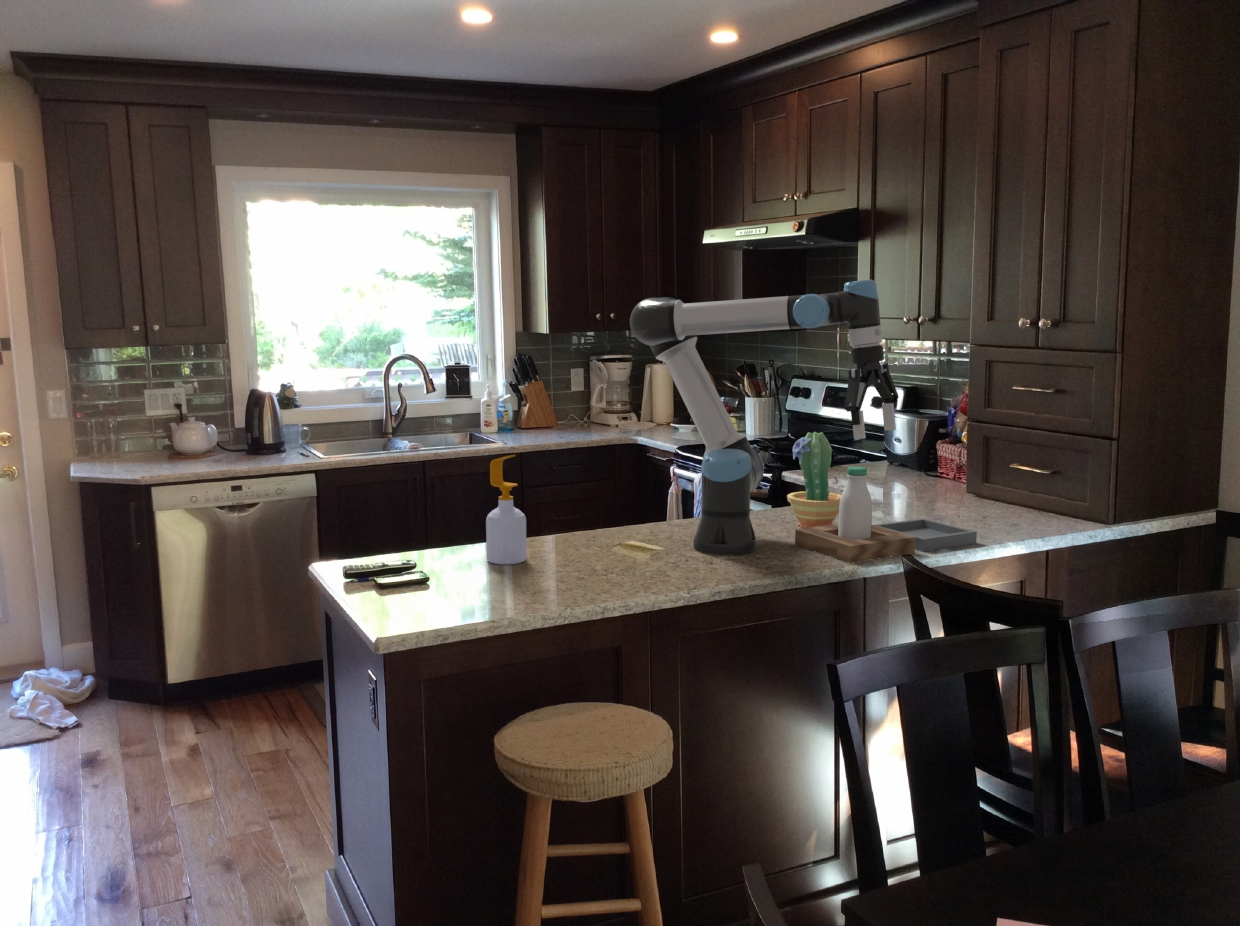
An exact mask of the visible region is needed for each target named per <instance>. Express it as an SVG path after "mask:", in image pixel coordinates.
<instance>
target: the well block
mask: <svg viewBox="0 0 1240 926" xmlns="http://www.w3.org/2000/svg"><path fill="white" fill-rule="evenodd" d="M873 525H874V524H871V538H864V539H857V540H850V539H847V538H843V537H840V536H838V526H839V523H835V524H832V525H826V526H818V527H811V528H797V529H794V530H795V532H794V533H795V535H794V537H795V538H794V546H795V545H798V546H799V548H801V547H803V548H802V549H805V548H807V549H806V550H808V549H809V550H808V551H811V550H812V552H814V551H816V552H815V553H817V552H818V554H820V553H822V554H821V555H823V554H824V555H823V556H826V555H827V557H829V556H831V557H830V558H832V557H833V559H835V558H836V560H838V559H840V560H839V561H841V562H842V561H843V562H844V561H845V562H844V563H848V562H849V563H848V564H853V563H852V562H855V563H859V562H858V561H862V562H866V561H865V560H868V561H870V560H869V559H875V560H879V559H878V558H881V559H886V557H888V558H891V557H890V556H895V557H900V556H907V555H913V554H915V553H916V550H915V538H916V537H914V536H910V535H906V534H903V533H899V532H895V531H892V530H888V529H884V528H881V527H877V526H873ZM798 546H797V547H798ZM899 555H900V556H899Z"/></svg>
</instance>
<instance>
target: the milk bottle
mask: <svg viewBox="0 0 1240 926" xmlns="http://www.w3.org/2000/svg"><path fill="white" fill-rule="evenodd" d="M846 474H847V475H846V477H847V482H846V485H845V487H844V489H843V491H842V493H841V494H840V495H841V499H840V506H839V513H838V524H839V526H838V536H840V537H843V538H847V539H850V540H857V539H864V538H871V525H872V519H873V518H872V517H873V508H872V507H873V503H872V502H873V501H872V496H871V493H870V492H869V491H870V490H869V489H868V486H867V481H866V480H867V479H866V478H867V475H868V469H867V467H864V466H849V467H847V468H846Z"/></svg>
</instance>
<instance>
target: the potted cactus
mask: <svg viewBox="0 0 1240 926" xmlns="http://www.w3.org/2000/svg"><path fill="white" fill-rule="evenodd" d="M832 454H833V449H832V446H831V444H830V441H829V440H828V438H827V437H826V436H825V434H824V432H817V431H814V432H807V433H806V435H805V436H803V437H800V438H799V439H798V440H796V441H795V442H794V445H793V446H792V458H793V460H796V458H798V461H799V462H798V463H799V466H800V469H801V471H802V472H801V473H802V475H803V480H804V487H805V491H797V492H796V491H795V492H791V493H788V494H787V495H786V499H787V502H788V503H790V506H791V509H792V512H793V514H794V515H795V518H796V520H797V521H798V524H799V525H800V526H801V527H800V526H799V527H800V528H802V527H805V528H811V527H818V526H826V525H833V521H834V520H835V519H836V518H837V517H838V516H839V506H840V499H841V495H842V494H841V493H840V494H839V493H834V492H830V491H829V472H830V469H831V464H832ZM798 524H797V525H798Z"/></svg>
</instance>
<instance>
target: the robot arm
mask: <svg viewBox="0 0 1240 926" xmlns="http://www.w3.org/2000/svg"><path fill="white" fill-rule="evenodd" d="M843 286H844V288H843V290H842V291H837V292H831V293H830V292H829V293H821V294H817V293H806V294H801V295H800V294H799V295H791V296H789V295H785V296H771V297H769V296H768V297H758V298H756V297H755V298H745V299H730V300H729V299H728V300H717V301H715V300H714V301H702V302H690V303H688V302H687V303H685V302H683V301H682V300H681V299H676V298H673V297H667V296H665V297H664V296H663V297H662V296H661V297H649V298H645V299H643V300H641V301H640V302H638V303H637V304H636V305H635V306H634V308H633V309H632V310H631V311H632V312H631V314H630V318H629V327H630V329H631V333H632V334H633V336H634V337H635V338H636V339H637V341H638V342H640V343H643V344H644V345H647V346H649V347H650V349H651V352H652V353H653V355H654V357H655V359H656V360H658V361H661V362H663V363H664V364H665V366H666V368H667V370H668V372H669V374H670V376H671V378H672V380H673V382H674V384H675V386H676V389H677V390H678V392H679V395H680V396H681V398H682V401H683V403H684V405H685V407H686V409H687V410H688V413H689V415H690V417H691V419H692V421H693V422H694V425H695V427H696V429H697V430H698V433H699V435H700V437H701V439H702V441H703V443H704V445H705V451H704V453H703V457H702V461H701V466H700V470H701V503H700V504H701V507H700V509H701V514H700V518H699V521H698V522H699V523H698V525H697V528H696V531H695V535H694V537H693V549H694V550H695V551H697V552H700V553H704V554H708V555H716V556H736V555H737V556H740V555H746V554H750V553H753V552H755V551H757V538H756V535H755V531H754V528H753V527H754V526H753V525H752V522H751V521H752V520H751V516H750V515H751V493H753V492H754V491H755V490H756V489H757V488H758V487H759V486H760V484H761V482H762V480H763V477H764V474H765V473H764V472H765V467H764V462H763V461H764V460H762V458H761V455H760V454H759V453H758V452H757V451H756V450H755V449H753V448H752V446H751V444H750V442H749V440H748V438H747V436H746V435H745V434H743V433H740V432H738V431H737V430H736V427H735V425H734V423H733V422H732V419H731V417H730V415H729V413H728V411H727V409H726V407H725V404H724V403H723V401H722V399H721V396H720V394H719V392H718V390H717V389H716V387H715V385H714V383H713V380H712V379H711V377H710V374H709V373H708V371H707V369H706V366H705V365H704V361H702V359H701V356H700V354H699V352H698V350H697V348H696V344H697V341H698V336H700V335H714V334H715V335H716V334H717V335H718V334H730V333H731V334H732V333H733V334H734V333H744V332H745V333H748V332H749V333H750V332H762V331H777V330H791V329H797V330H798V329H816V328H817V329H818V328H820V327H825V326H833V325H840V324H841V325H842V324H846V323H847V325H848V340H849V346H851V347H852V348H851V349H850V357H851V358H850V359H851V363H852V364H853V365H856V368H849V370H848V381H847V388H846V395H845V400H844V406H843V407H844V410H845V411H846V412H848V413H849V412H850V414H851V415H850V416H851V424H852V433H853V439H856V440H857V439H858V440H859V439H866V438H867V437H866V429H865V419H864V417H865V416H864V411H863V410H861V409H862V406H863V402H864V400H865V396H866V393H867V390H868V388H870V387H871V386H873V387H874V388H875V390H876V392H877V393H878V394H879V396H880V399H881V400H882V401H883V403H881V408H882V416H883V417H882V420H883V429H884V431H895V430H897V427H896V417H895V405H894V404H895V403H898V401H899V394H898V392H897V388H896V386H895V384H894V381H893V378H892V376H891V373H890V367H889V364H888V362H882V361H883V360H884V359H885V355H884V346H883V345H882V344H881V343H882V342H883V339H882V338H883V337H882V334H883V333H882V332H883V331H882V328H881V314H880V313H881V312H880V304H879V295H878V294H879V293H878V289H877V283H876V282H875V280H873V279H861V280H854V281H849V282H845V283H844V285H843Z"/></svg>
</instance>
